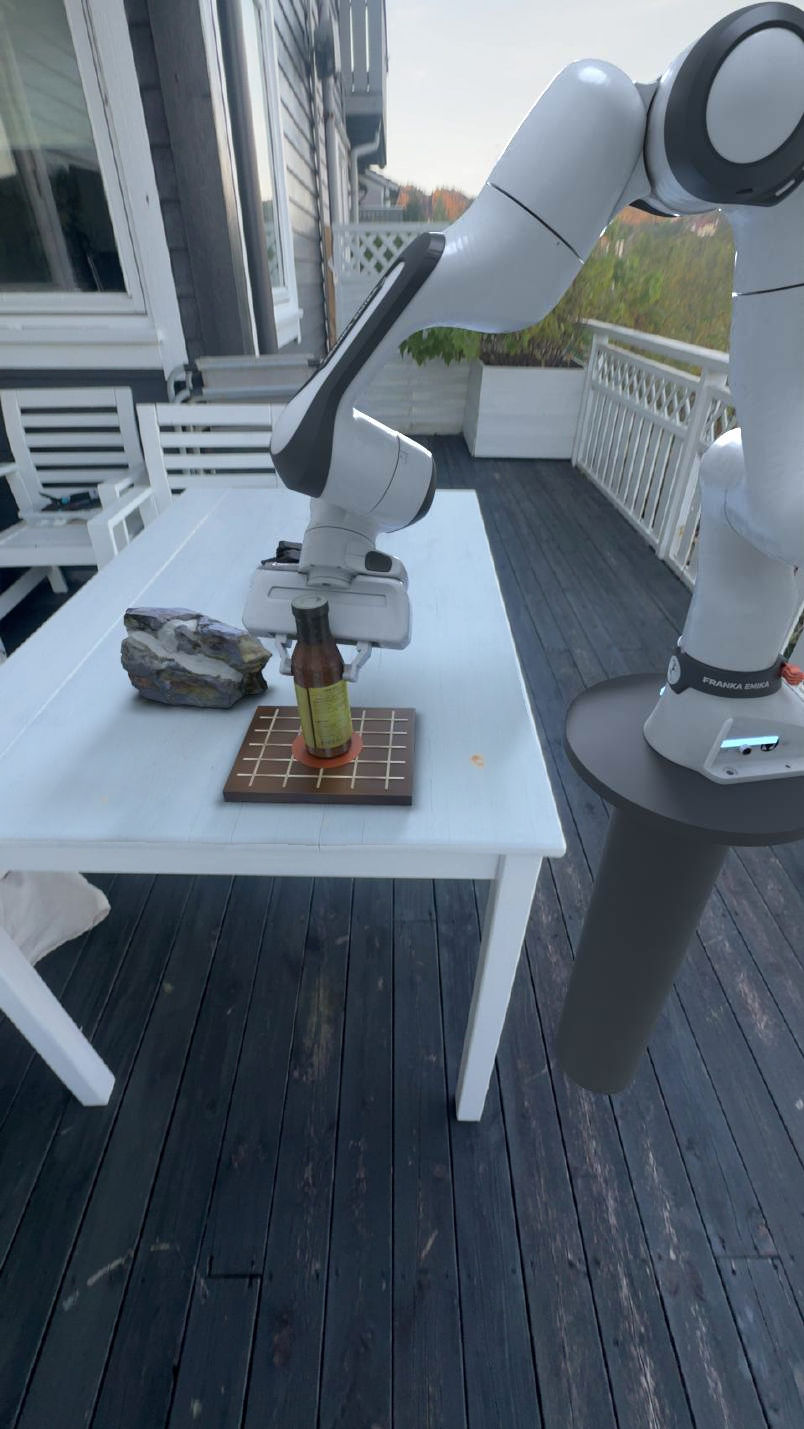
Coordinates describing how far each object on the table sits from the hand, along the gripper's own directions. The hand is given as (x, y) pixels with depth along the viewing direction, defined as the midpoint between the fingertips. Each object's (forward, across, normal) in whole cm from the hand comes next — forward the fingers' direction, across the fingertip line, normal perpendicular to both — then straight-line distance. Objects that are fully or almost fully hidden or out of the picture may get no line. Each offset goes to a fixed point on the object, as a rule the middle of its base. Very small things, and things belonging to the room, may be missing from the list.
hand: (318, 677), depth 73 cm
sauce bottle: (+7, 0, +8) cm, 11 cm away
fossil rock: (+1, -22, +16) cm, 27 cm away
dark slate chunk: (-32, -22, +49) cm, 62 cm away
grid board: (+8, 0, +9) cm, 12 cm away
